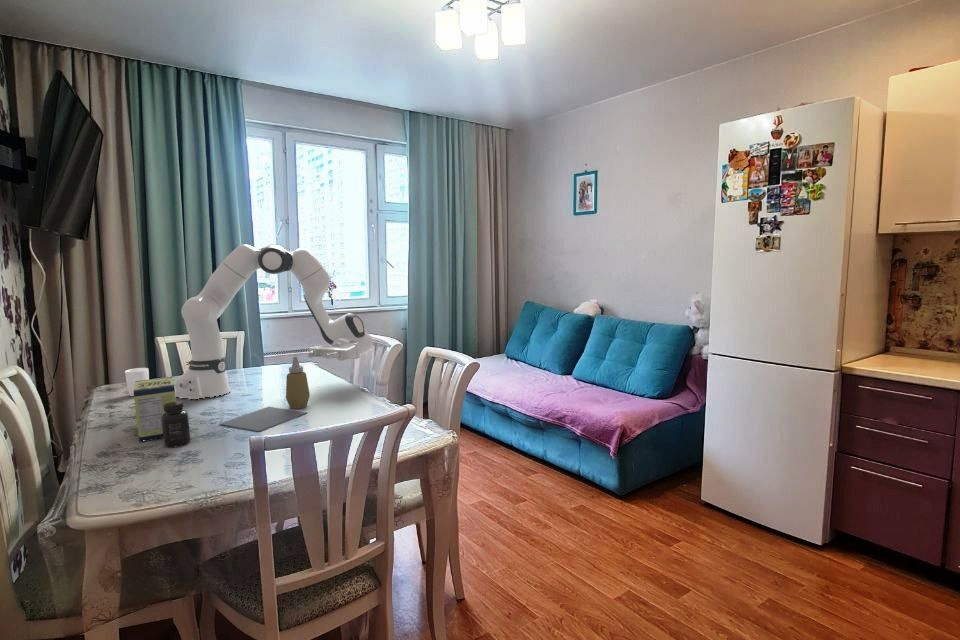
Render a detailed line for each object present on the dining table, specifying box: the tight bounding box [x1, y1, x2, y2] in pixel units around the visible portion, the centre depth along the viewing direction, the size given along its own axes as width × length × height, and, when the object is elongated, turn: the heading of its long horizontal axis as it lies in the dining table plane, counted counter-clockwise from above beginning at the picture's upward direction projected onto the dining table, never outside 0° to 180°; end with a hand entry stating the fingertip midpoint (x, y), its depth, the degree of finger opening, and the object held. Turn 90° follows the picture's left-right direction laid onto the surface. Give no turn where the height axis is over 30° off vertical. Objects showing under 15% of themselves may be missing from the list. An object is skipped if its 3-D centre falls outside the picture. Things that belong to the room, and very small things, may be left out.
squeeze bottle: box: [285, 356, 311, 409], centre depth 185 cm, size 8×8×18 cm
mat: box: [218, 406, 308, 433], centre depth 173 cm, size 20×18×1 cm
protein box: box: [133, 376, 177, 442], centre depth 162 cm, size 10×16×16 cm
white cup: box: [124, 367, 150, 395], centre depth 208 cm, size 8×8×10 cm
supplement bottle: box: [161, 400, 192, 448], centre depth 151 cm, size 7×7×12 cm
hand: (318, 355), depth 200 cm, fingers open, 8 cm apart
